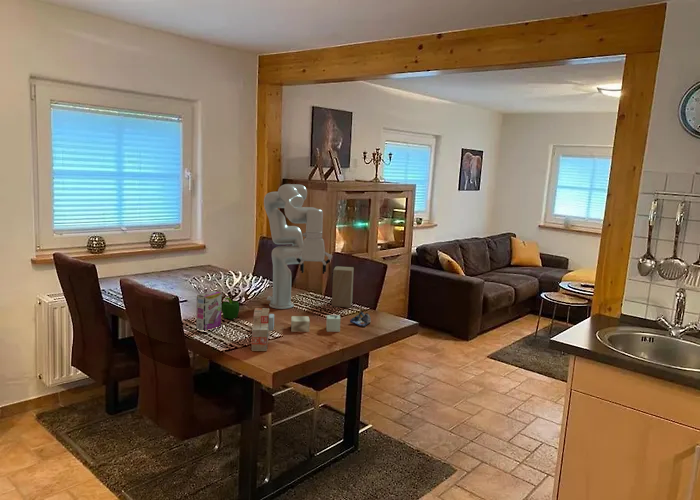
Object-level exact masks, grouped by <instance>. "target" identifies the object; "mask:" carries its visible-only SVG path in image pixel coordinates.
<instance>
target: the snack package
mask: <svg viewBox="0 0 700 500" xmlns="http://www.w3.org/2000/svg"><path fill="white" fill-rule="evenodd" d="M371 318H372V317H371V315H370V314H369V313H368V312H363V311H360V312H358V314H357V315H356V316H354V317H352V318H350V320H349V322H350V324H355V325H356V326H357V327H360V328H366V327H367V325H368V324H369V323H371V321H372V320H371Z"/></svg>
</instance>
